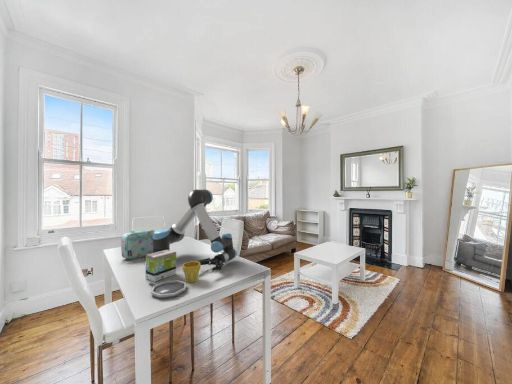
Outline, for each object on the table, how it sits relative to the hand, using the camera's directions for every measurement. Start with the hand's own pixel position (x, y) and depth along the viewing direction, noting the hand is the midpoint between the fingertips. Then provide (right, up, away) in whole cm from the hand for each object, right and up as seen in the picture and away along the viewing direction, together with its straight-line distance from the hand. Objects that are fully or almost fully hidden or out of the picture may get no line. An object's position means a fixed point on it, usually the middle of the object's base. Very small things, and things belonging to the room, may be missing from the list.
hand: (199, 269), depth 135 cm
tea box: (-24, -5, +1) cm, 25 cm away
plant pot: (-4, -5, -5) cm, 8 cm away
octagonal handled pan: (-15, -5, -17) cm, 23 cm away
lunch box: (-59, -4, +41) cm, 72 cm away
